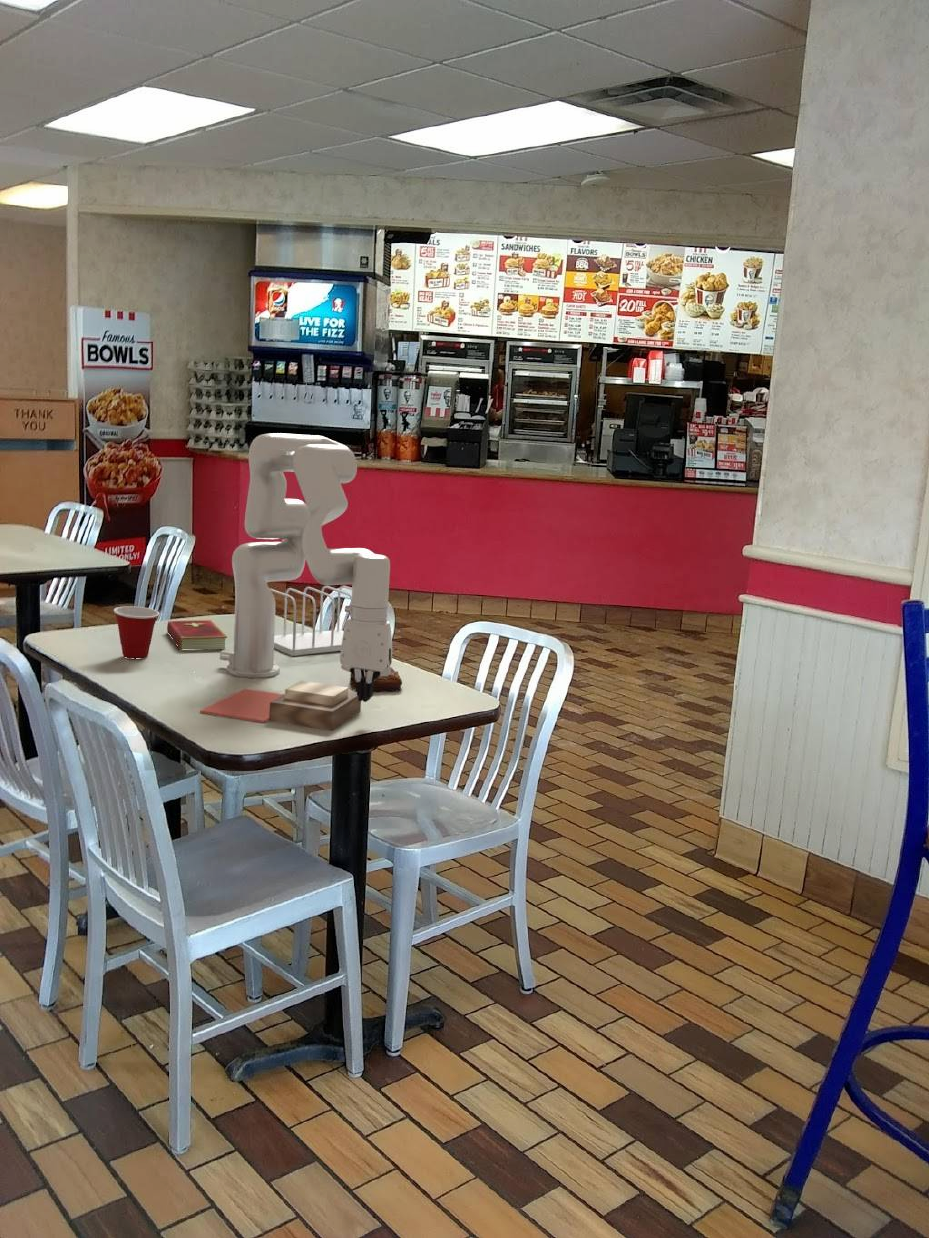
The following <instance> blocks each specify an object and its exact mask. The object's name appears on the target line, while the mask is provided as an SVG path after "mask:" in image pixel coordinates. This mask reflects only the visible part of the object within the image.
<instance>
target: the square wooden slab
mask: <svg viewBox="0 0 929 1238" xmlns="http://www.w3.org/2000/svg"><path fill="white" fill-rule="evenodd" d="M361 708H362V701H358V696H357V691H349V690H348V697H347V698H345V699H343V700H342V701H340V702H339V703H337V704H335V705H334V706H332V705H325V704H318V703H312V702H305V701H299V700H292V699H286V698H285V693H284V695H282V696H280V697H278V698H276V699H274V700H273V701H271V702H270V712H269V721H271V722H276V723H282V722H283V723H282V724H288V723H289V725H293V726H294V725H295V726H300V727H301V726H302V727H308V728H312V729H313V728H314V729H320V730H327V731H333V730H335V729H336V728H337V727H339V726H340V725H342V724H343V723H345V722H346V721H348V720H350V719H351V718H352V717H354V716H355V715H357V714H359V713H360V712H361V711H362V710H361ZM356 713H357V714H356ZM353 715H354V716H353ZM269 721H268V722H269Z"/></svg>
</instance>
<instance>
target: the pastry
mask: <svg viewBox="0 0 929 1238" xmlns="http://www.w3.org/2000/svg"><path fill="white" fill-rule="evenodd" d="M390 668H391V674H390V675H388V676H380V677H378V678H377V679H376V680H375V681H374V682H373V693H379V692H380V693H388V692H400V690H401V688H402V687H401V686H402V684H403V680H402V678H401V677H400V674H399V671H395V669H393V667H391V666H390ZM367 673H368V670H365V678H367ZM349 676H350V677H349V682H350V685H351V686H352V687H353V688H354V690H356V691H357V682H356V680H355V677H354V676H353V675H352V674H351V673H350V675H349Z"/></svg>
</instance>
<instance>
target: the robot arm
mask: <svg viewBox="0 0 929 1238" xmlns="http://www.w3.org/2000/svg"><path fill="white" fill-rule="evenodd" d="M355 456H356V455H355V454H354V452H353V451H352V449H350V448H349V447H348V446H347V445H345V444H343V443H340V442H338V441H336V440H332V439H330V438H328V437H325V436H323V435H316V434H315V435H313V434H312V435H311V434H297V433H282V432H280V433H279V432H277V433H276V432H275V433H274V432H273V433H271V432H269V433H264V434H263V433H262V434H259V435H257V436H256V437H255V438H254V439H253V440H252V442H251V443H250V446H249V451H248V465H249V486H248V493H247V501H246V508H245V515H244V516H245V517H244V529H245V533H246V534H247V535H248V536H249V537H251V538H254V539H256V540H258V539H260V540H281V541H255V542H253V541H252V542H246V543H242V544H240V545H239V546H237V547H236V548H235V550H233V553H232V557H231V565H232V572H233V577H234V587H235V588H234V590H235V591H234V593H235V594H234V595H235V596H234V597H235V599H234V600H235V601H234V631H233V635H234V637H233V650H232V652H231V651H228V650H221V651H220V653H219V660H221V661H227V662H228V663H229V664H228V665H227V666H226V672H227V673H228V674H230V675H232V676H235V677H236V676H237V677H242V678H249V679H250V678H254V679H255V678H256V679H257V678H259V679H260V678H270V677H274V676H276V675H279V674H280V666H279V665H277V664H275V663H274V660H275V659H274V656H275V655H274V653H275V648H274V636H276V635H275V633H276V632H275V631H276V630H275V629H276V599H275V596H274V592H272V591H271V590H270V589H271V588H270V587H269V585H268V583H270V582H271V583H272V582H286V581H287V582H288V581H293V580H296V579H299V578H300V577H301V575H302V574H303V572H304V568H305V566H306V565H305V564H306V563H307V566H308V568H309V571H310V573H311V575H312V577H313V578H314V580H315V581H316V582H317V583H319V584H320V585H323V586H336V585H340V586H341V585H351V588H352V590H351V595H352V601H350V602H351V603H350V604H349V605H345V607H344V612H345V613H348V614H349V618H346V621H345V625H344V629H343V631H344V633H343V638H342V645H341V651H340V655H339V659H340V660H339V662H340V664H341V666H340V668H341V669H342V670H343V671H345V672H349V673H350V674H352V675H353V676H354V677H355V680H356V682H357V690H356V693H357V696H358V701H361V702H362V703H363V702H365V703H366V702H368V701H370V700H371V698H372V697H373V696H374V695H373V694H374V692H373V682H374V681H375V680H376V679H377V678H378V677H380V676H388V675H390V674H391V668H390V667H391V666H392V661H393V637H392V636H393V635H392V628H391V623H390V620H388V612H389V611H388V607H389V593H390V591H389V590H390V577H391V576H390V575H391V560H390V558H389V557H388V556H386V555H384V554H380V553H379V554H377V553H374V552H373V551H371V550H370V549H367V548H365V547H363V548H362V547H352V548H351V547H341V548H328V547H327V544H326V542H325V539H324V536H323V531H322V527H323V526H324V525H326V524H328V523H330V522H333V521H334V520H336V519H337V518H339V517H341V516H342V515H343V514H344V513H345V512H346V510H348V506H349V505H348V504H349V503H348V502H349V501H348V498H347V497H346V494H345V492H344V491H345V490H344V489H343V487H342V484H348V483H350V482H352V481H353V480H354V479H355V478H356V475H357V473H358V472H357V471H358V463H357V459H356V457H355ZM284 472H285V473H286V472H289V473H290V472H292V473H294V474H295V478H296V480H297V482H298V485H299V487H300V490H301V494H302V495H303V499H304V501H303V500H301V499H298V498H286V495H287V485H288V483H287V479H286V476H285V474H284ZM365 670H368V673H367V678H365Z"/></svg>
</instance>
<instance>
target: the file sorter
mask: <svg viewBox="0 0 929 1238" xmlns="http://www.w3.org/2000/svg"><path fill="white" fill-rule="evenodd" d="M343 588H344V589H346V590H349V591H352V586H351V587H350V586H347V585H340V586H339V588H335V587H332V586H331V585H323V587H321V590H319V589H316V588H314V587H311V586H306V587H305V588H304V589H303V592H302V591H300V590H298V589H295V588H292V587H289V588H287V589H286V590H285V593H284V592H281V591H278V590H275V589H273V588H269V589H270V590H271V592H272V593H273V594H278V595H280V596H282V597H283V596H284V609H283V610H284V611H283V615H284V616H283V634H279V635H274V650H278V651H280V652H282V653H284V654H287V655H289V656H291V657H297V656H304V655H313V654H322V653H323V654H324V653H332V652H339V651H340V652H341V645H342V638H343V633H344V630H342V629H340V622H341V621H340V617H341V616H340V615H341V594H343V595H345V596H348V597H349V598H350V600H351V601H352V593H349V592H346V591H343ZM325 589H329V590H331V591H335V592H337V616H336V618H337V621H336V624H337V625H336V629H335V615H336V614H335V612H336V610H335V609H336V605H335V604H336V603H335V599H334V597H333V595H331V594H329V593H327V592H324V591H325ZM308 590H310V591H313V592H316V593H318V594H320V601H319V602H320V604H319V605H320V606H319V607H320V609H319V612H320V613H319V631H316V619H317V605H316V600H315V598H314V597H313V596H312V595H310V594H307V591H308ZM290 591H291V592H294V593H296V594H299V595H301V596H302V615H301V616H302V617H301V619H302V620H301V621H302V622H301V633H300V632H299V633H298V632H297V631H296V628H297V627H296V625H297V604H296V600H295V598H294V597H293V596H292V595H290V594H289V592H290ZM324 596H327V598H328V597H329V599H330V600H331V604H332V605H331V627H330V628H331V630H323V610H324V608H323V606H324V604H323V603H324ZM288 598H289V599H290V600H291V601H292V603H293V624H292V625H293V626H292V633H289V634H287V614H288V613H287V612H288V611H287V609H288ZM306 598H309V599H310V601H311V600H312V605H313V606H312V607H313V610H312V611H313V612H312V615H313V617H312V632H311V631H310V632H309V631H308V632H305V620H306V619H305V617H306ZM351 601H350V602H351Z"/></svg>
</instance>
